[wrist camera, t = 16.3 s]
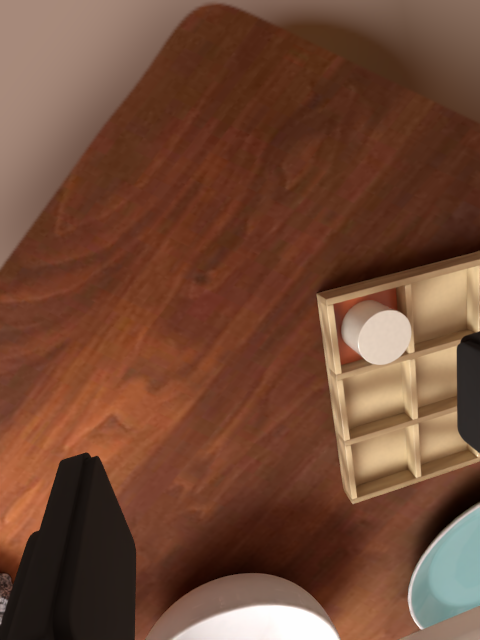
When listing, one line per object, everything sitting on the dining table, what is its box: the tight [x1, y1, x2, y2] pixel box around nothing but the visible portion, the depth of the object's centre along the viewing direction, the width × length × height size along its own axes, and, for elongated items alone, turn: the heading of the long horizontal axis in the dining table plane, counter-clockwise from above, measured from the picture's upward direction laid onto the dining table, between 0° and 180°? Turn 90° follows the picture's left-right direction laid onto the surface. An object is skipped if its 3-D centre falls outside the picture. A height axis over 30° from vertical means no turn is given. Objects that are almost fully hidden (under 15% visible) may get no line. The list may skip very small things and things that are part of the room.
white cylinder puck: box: [341, 300, 411, 365], centre depth 34 cm, size 5×5×3 cm
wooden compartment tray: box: [316, 251, 480, 504], centre depth 39 cm, size 22×22×2 cm
